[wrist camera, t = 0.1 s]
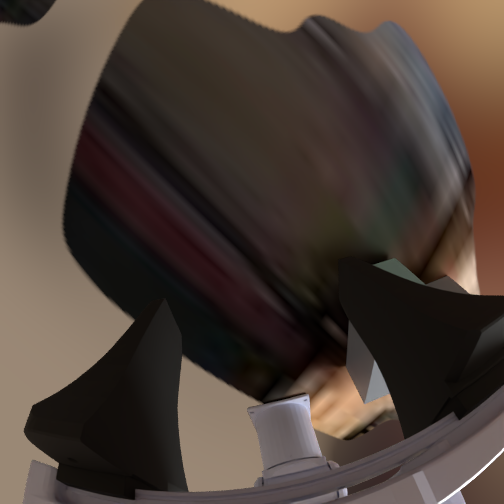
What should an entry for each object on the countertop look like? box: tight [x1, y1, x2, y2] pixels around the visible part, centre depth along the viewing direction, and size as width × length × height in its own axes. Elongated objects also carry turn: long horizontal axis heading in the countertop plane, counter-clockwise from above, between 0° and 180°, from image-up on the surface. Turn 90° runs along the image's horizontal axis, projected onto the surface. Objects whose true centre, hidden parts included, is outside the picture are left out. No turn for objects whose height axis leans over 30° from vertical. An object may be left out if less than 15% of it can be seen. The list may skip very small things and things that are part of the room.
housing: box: [346, 276, 469, 404], centre depth 25 cm, size 9×14×6 cm, turn 101°
